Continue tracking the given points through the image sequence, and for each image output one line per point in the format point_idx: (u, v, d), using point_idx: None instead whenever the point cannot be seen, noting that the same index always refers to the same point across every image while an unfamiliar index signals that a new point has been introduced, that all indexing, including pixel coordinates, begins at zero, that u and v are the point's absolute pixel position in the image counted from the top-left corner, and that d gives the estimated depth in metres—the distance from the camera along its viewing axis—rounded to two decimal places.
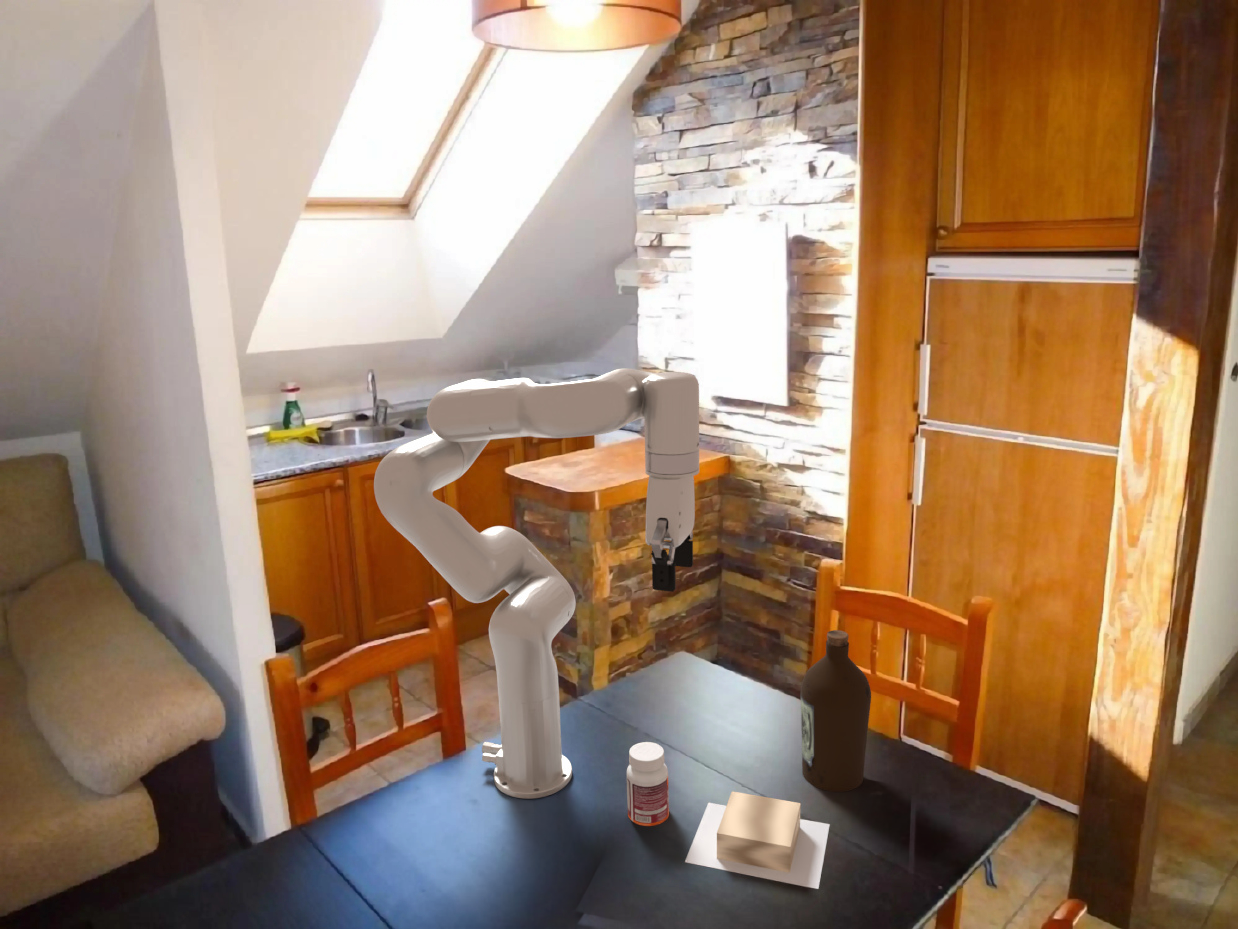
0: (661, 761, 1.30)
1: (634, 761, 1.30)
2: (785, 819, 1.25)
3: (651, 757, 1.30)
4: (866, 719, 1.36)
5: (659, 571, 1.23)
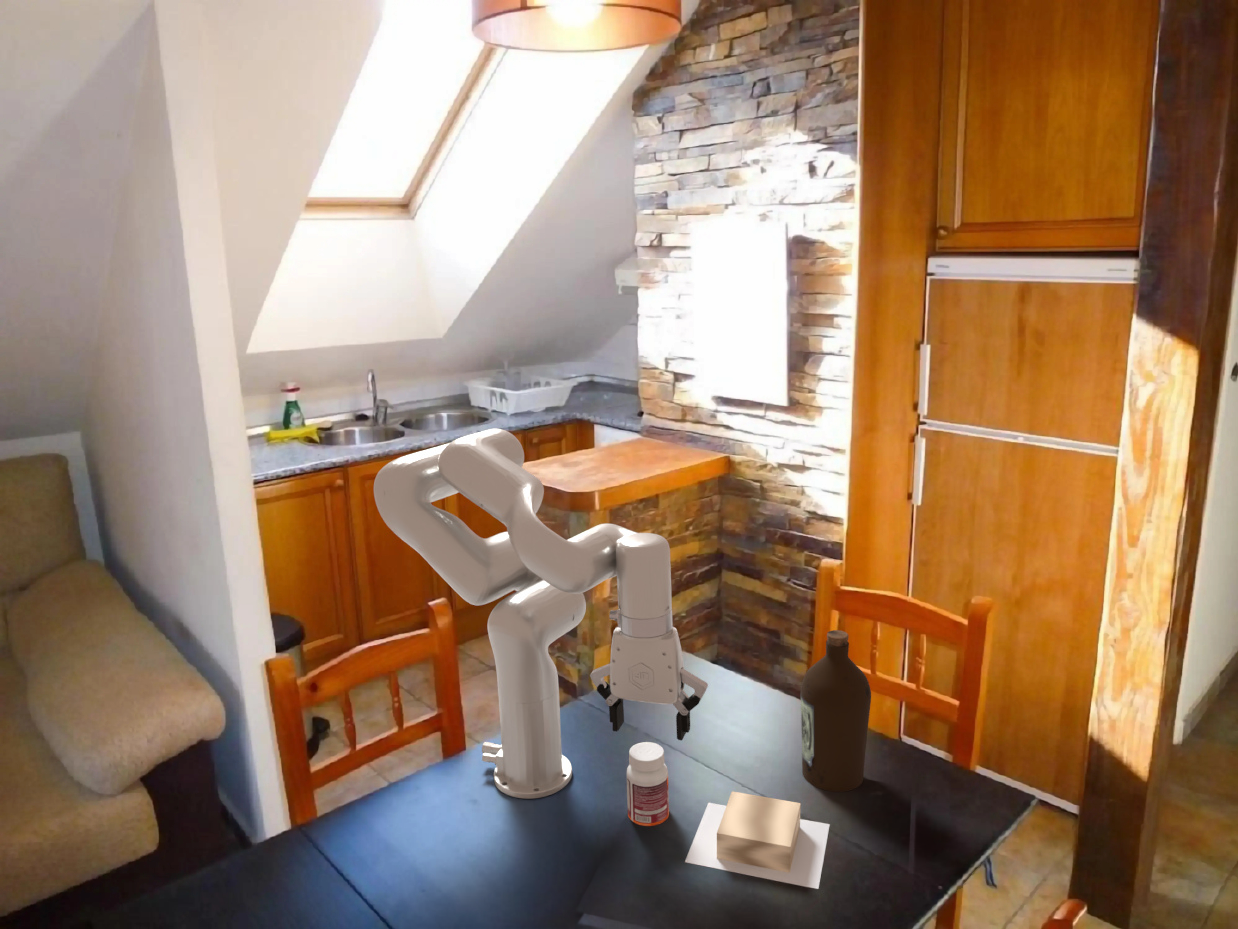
0: (661, 761, 1.30)
1: (634, 761, 1.30)
2: (785, 819, 1.25)
3: (651, 757, 1.30)
4: (866, 719, 1.36)
5: (687, 717, 1.27)
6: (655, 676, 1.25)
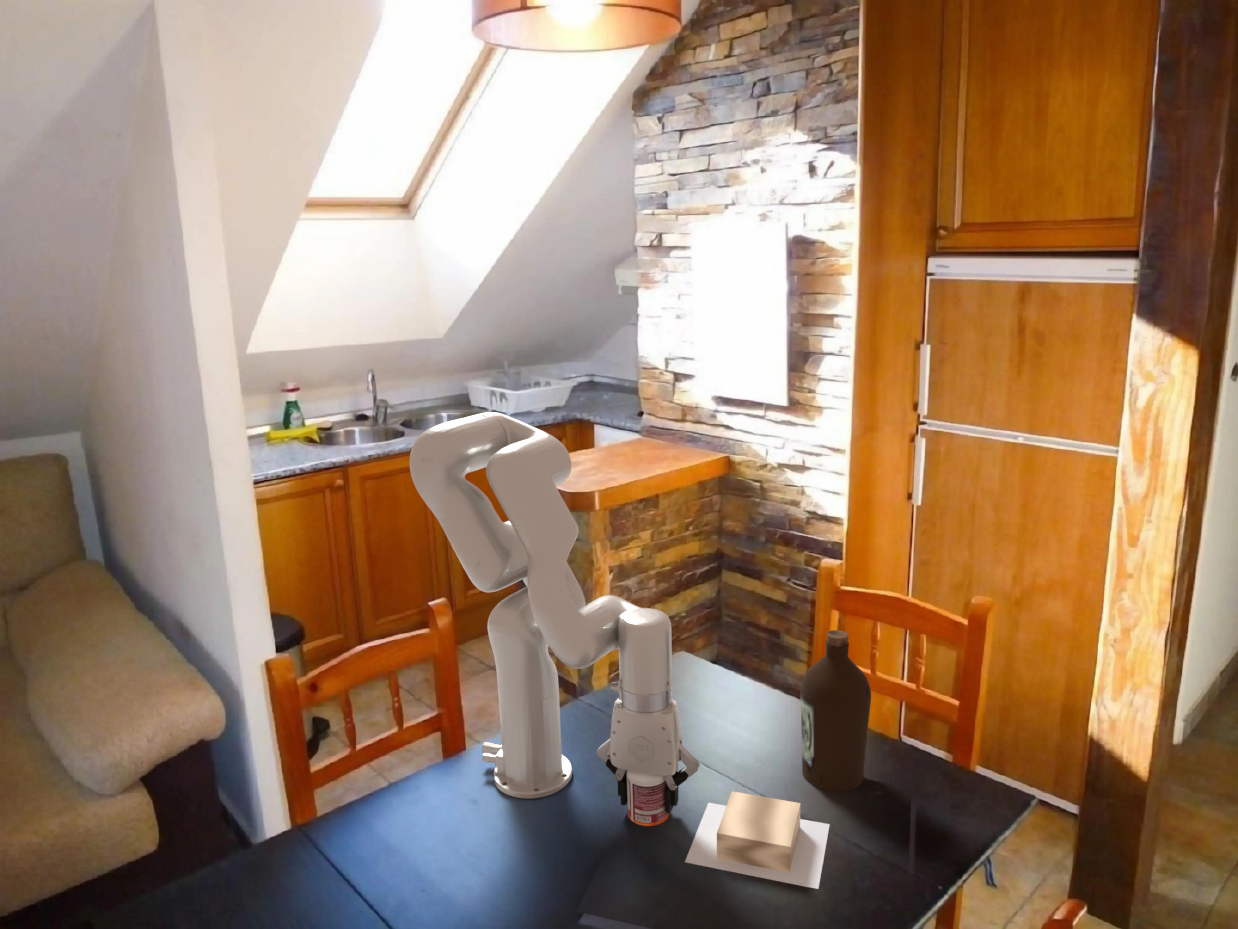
0: None
1: None
2: (785, 819, 1.25)
3: None
4: (866, 719, 1.36)
5: (676, 792, 1.31)
6: (654, 749, 1.28)
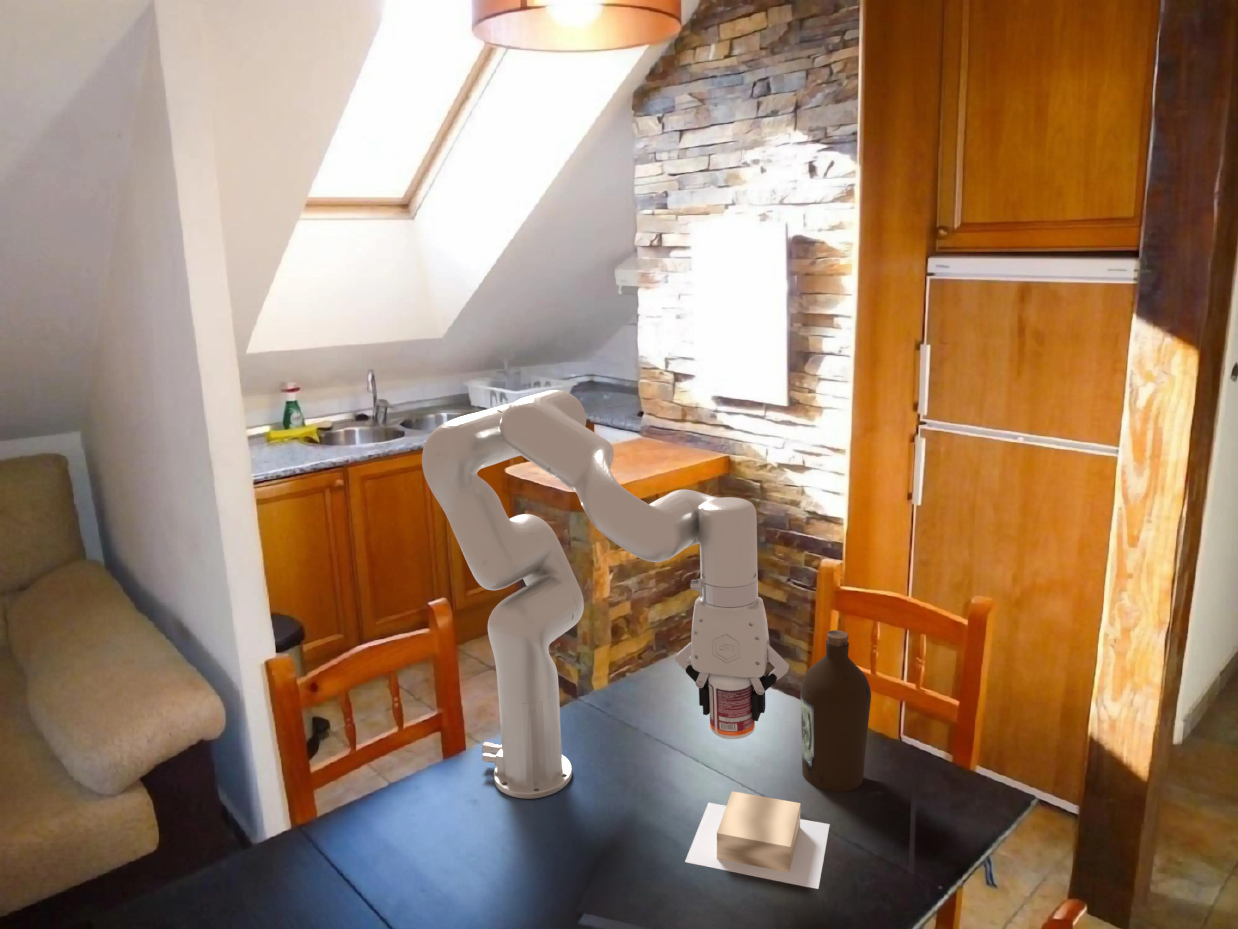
0: None
1: None
2: (785, 819, 1.25)
3: None
4: (866, 719, 1.36)
5: (763, 697, 1.21)
6: (741, 648, 1.18)
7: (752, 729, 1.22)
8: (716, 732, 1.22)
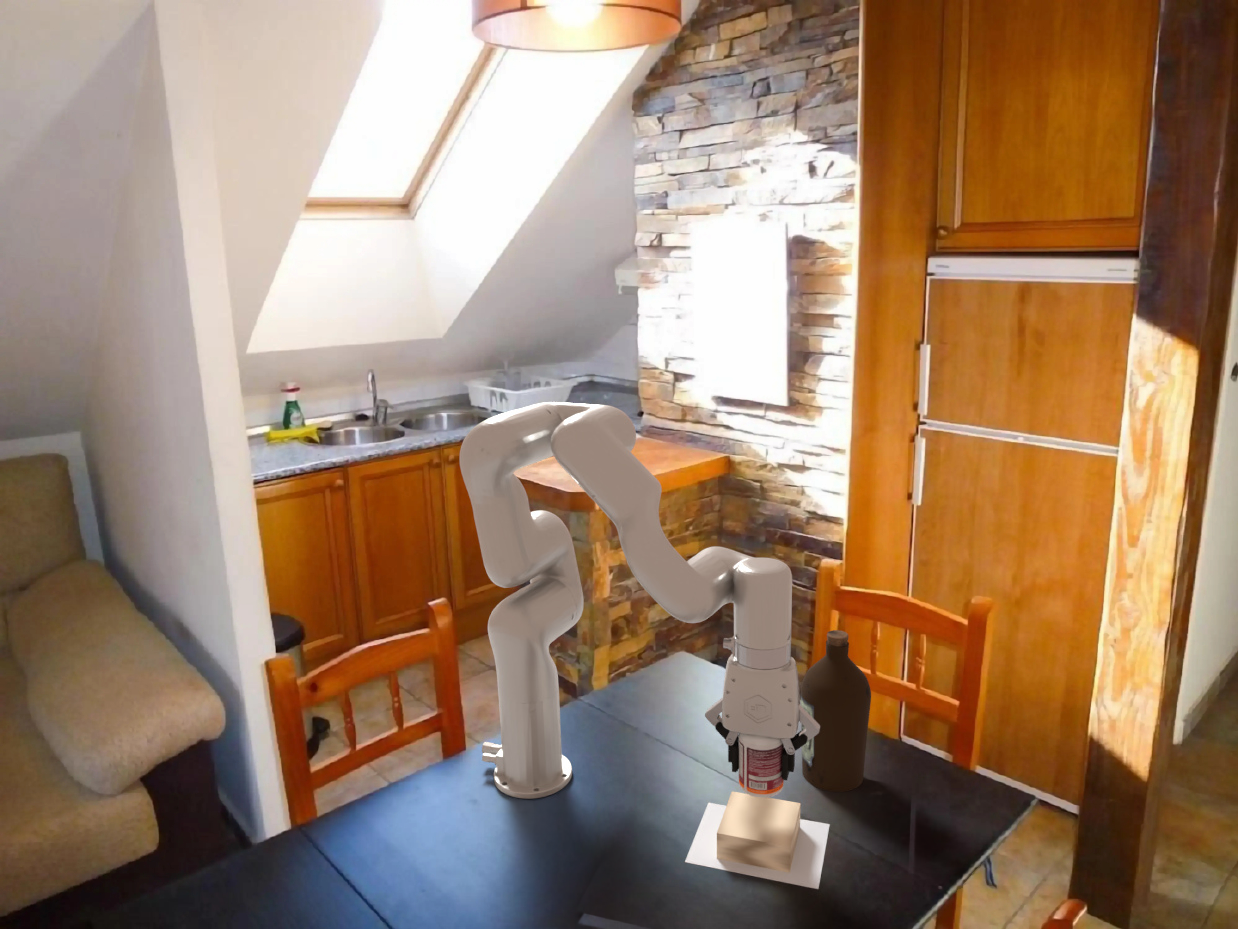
0: None
1: None
2: (785, 819, 1.25)
3: None
4: (866, 719, 1.36)
5: (793, 756, 1.21)
6: (773, 709, 1.18)
7: (781, 787, 1.22)
8: (745, 790, 1.22)
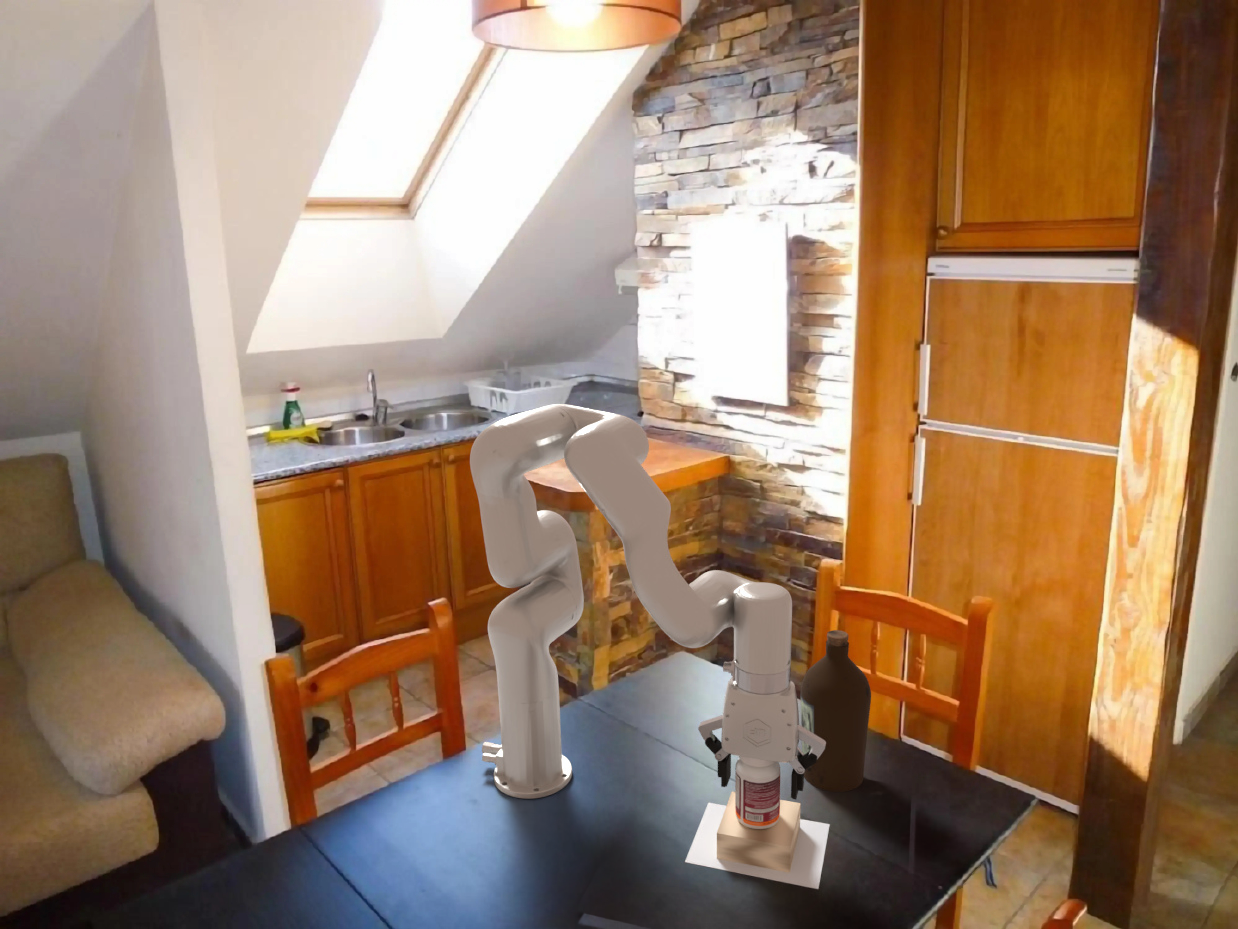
0: None
1: None
2: (785, 819, 1.25)
3: None
4: (866, 719, 1.36)
5: (803, 775, 1.22)
6: (772, 733, 1.19)
7: (777, 819, 1.24)
8: (742, 821, 1.24)
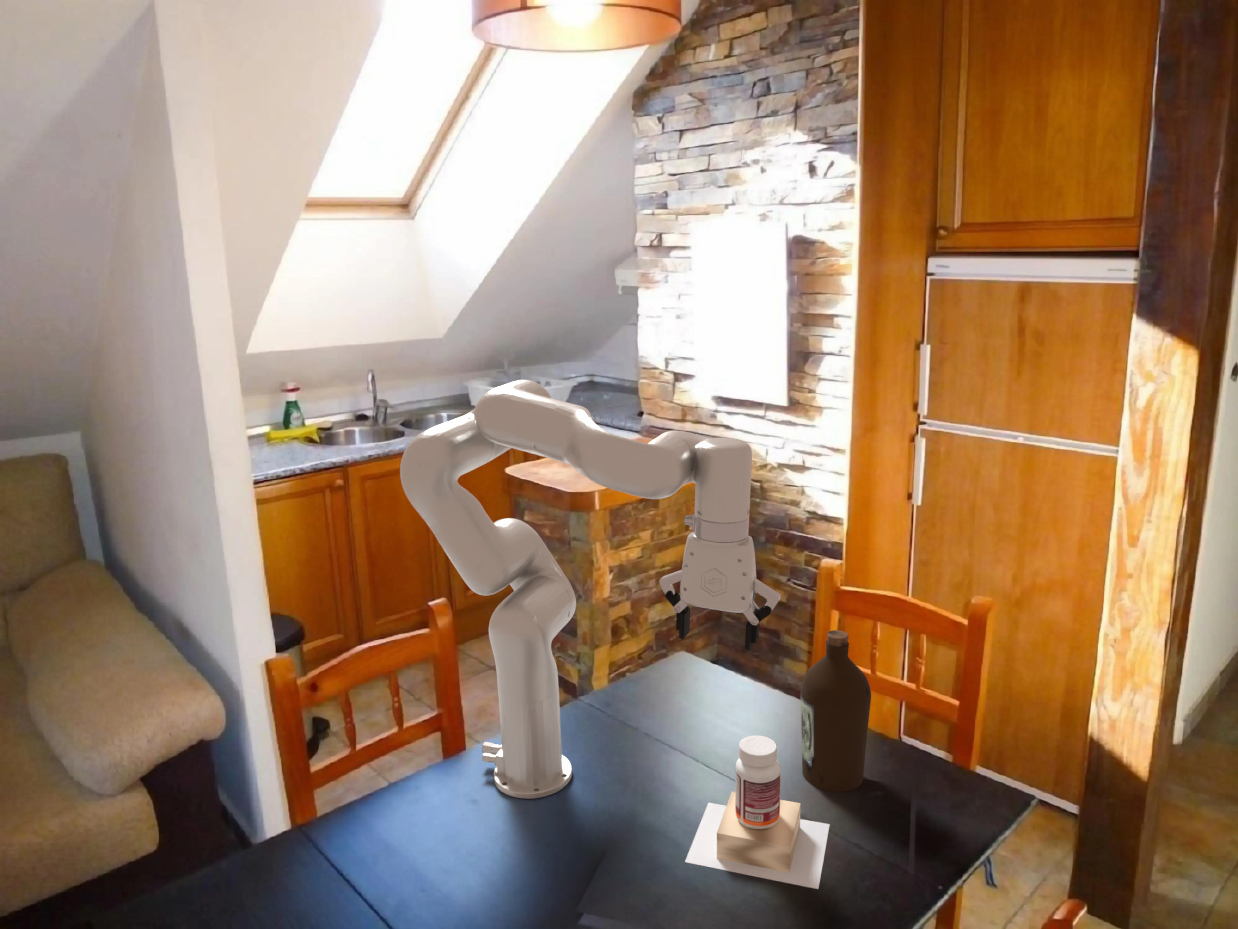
0: (774, 756, 1.22)
1: (746, 755, 1.21)
2: (785, 819, 1.25)
3: (764, 751, 1.21)
4: (866, 719, 1.36)
5: (757, 628, 1.26)
6: (728, 583, 1.23)
7: (777, 819, 1.24)
8: (742, 821, 1.24)
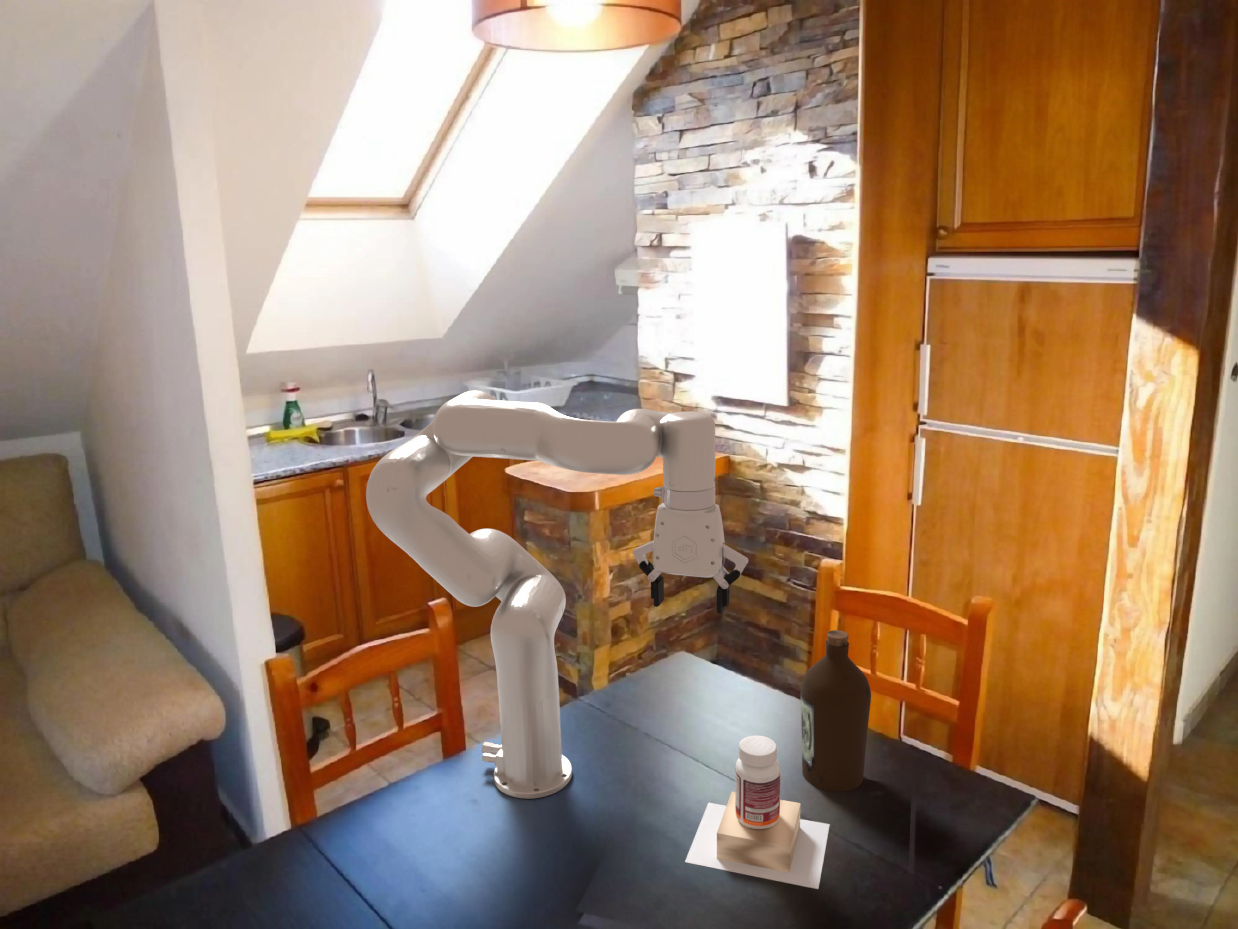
0: (774, 756, 1.22)
1: (745, 755, 1.21)
2: (785, 819, 1.25)
3: (764, 751, 1.21)
4: (866, 719, 1.36)
5: (727, 592, 1.32)
6: (698, 549, 1.29)
7: (777, 819, 1.24)
8: (742, 821, 1.24)
